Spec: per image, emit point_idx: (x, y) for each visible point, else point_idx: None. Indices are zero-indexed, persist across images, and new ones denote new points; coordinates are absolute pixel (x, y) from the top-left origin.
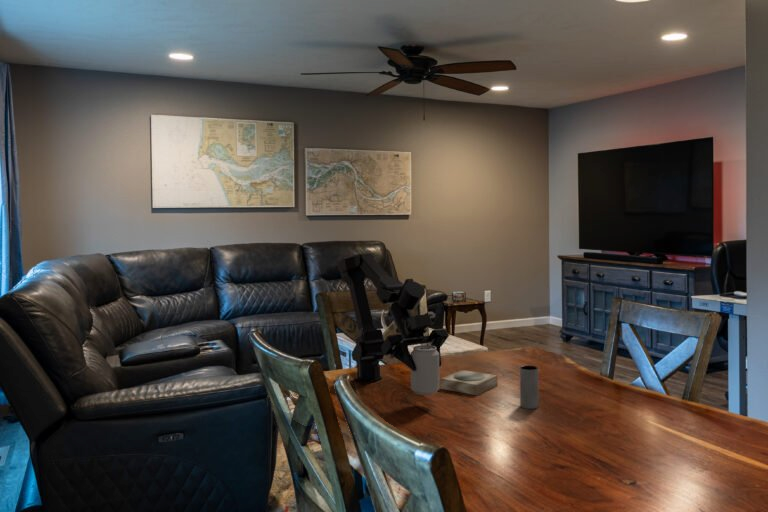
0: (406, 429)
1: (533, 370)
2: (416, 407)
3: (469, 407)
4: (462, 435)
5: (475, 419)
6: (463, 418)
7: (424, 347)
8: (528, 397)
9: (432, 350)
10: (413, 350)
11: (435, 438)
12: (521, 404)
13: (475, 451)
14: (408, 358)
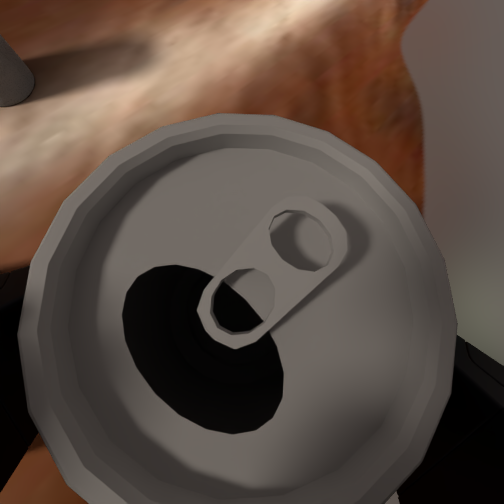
0: (421, 182)
1: None
2: None
3: None
4: (332, 70)
5: None
6: None
7: (140, 424)
8: (2, 37)
9: (250, 125)
10: (399, 410)
11: (395, 97)
12: (24, 87)
13: (371, 6)
14: (458, 338)
